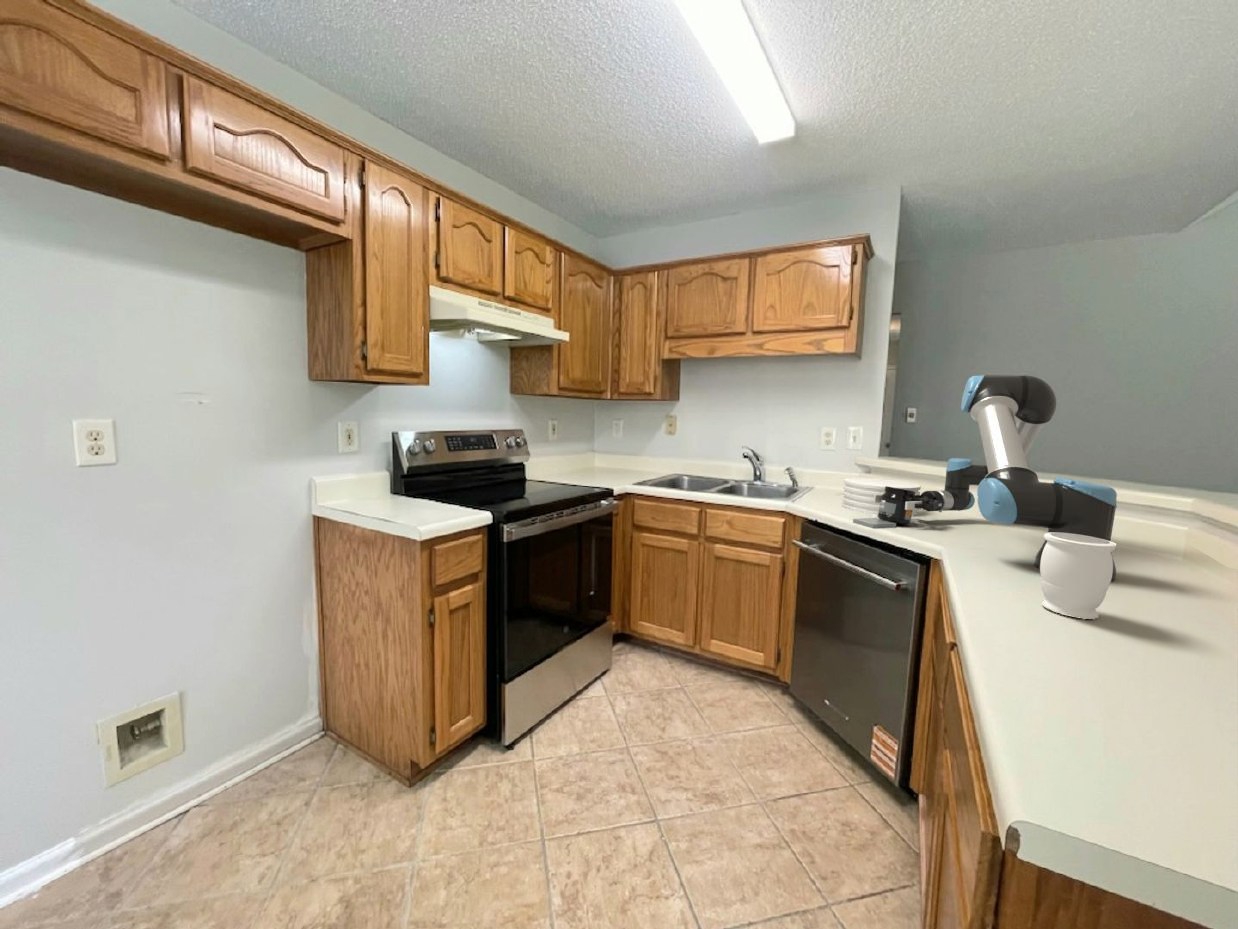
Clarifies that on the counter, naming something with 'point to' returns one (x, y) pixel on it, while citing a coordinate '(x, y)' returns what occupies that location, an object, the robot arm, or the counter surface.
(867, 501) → the plate stack
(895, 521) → the supplement container
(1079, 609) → the jar
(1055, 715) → the counter surface
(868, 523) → the tile
